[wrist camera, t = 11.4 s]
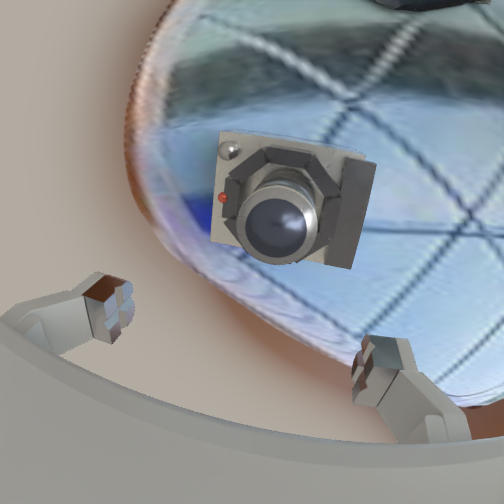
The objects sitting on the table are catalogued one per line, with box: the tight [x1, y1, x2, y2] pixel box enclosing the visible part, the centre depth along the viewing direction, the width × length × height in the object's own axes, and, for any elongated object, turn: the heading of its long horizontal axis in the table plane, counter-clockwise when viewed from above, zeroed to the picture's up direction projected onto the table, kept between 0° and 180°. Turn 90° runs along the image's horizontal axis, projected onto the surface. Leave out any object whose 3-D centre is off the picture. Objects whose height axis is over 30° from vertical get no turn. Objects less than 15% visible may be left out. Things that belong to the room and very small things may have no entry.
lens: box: [236, 170, 318, 265], centre depth 22 cm, size 5×5×7 cm
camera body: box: [210, 130, 377, 269], centre depth 27 cm, size 13×10×9 cm
